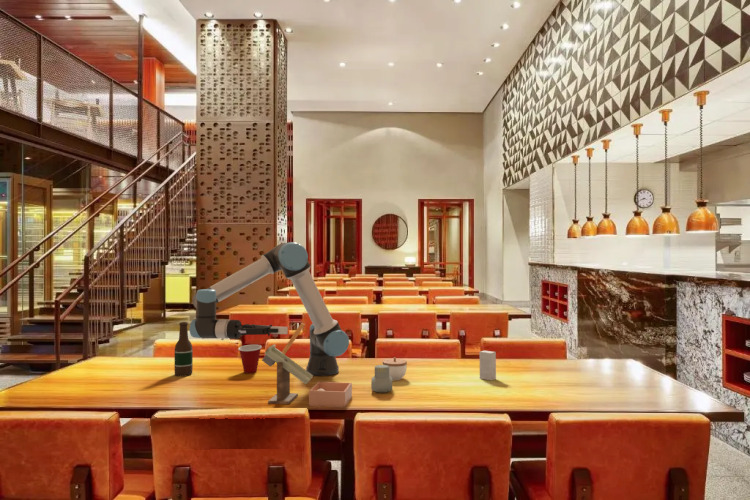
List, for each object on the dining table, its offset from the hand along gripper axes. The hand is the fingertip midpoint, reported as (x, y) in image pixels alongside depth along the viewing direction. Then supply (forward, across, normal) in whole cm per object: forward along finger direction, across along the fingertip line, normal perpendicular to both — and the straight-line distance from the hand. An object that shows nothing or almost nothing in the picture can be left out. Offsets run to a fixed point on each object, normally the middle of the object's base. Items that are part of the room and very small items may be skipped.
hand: (287, 330), depth 198 cm
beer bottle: (-58, -28, -26) cm, 69 cm away
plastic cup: (-29, -36, -26) cm, 53 cm away
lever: (0, +4, -16) cm, 16 cm away
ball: (+15, +6, -23) cm, 28 cm away
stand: (0, +5, -25) cm, 26 cm away
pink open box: (+19, +6, -25) cm, 32 cm away
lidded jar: (+39, -32, -26) cm, 57 cm away
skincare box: (+80, -37, -25) cm, 92 cm away
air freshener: (+36, -11, -26) cm, 46 cm away
